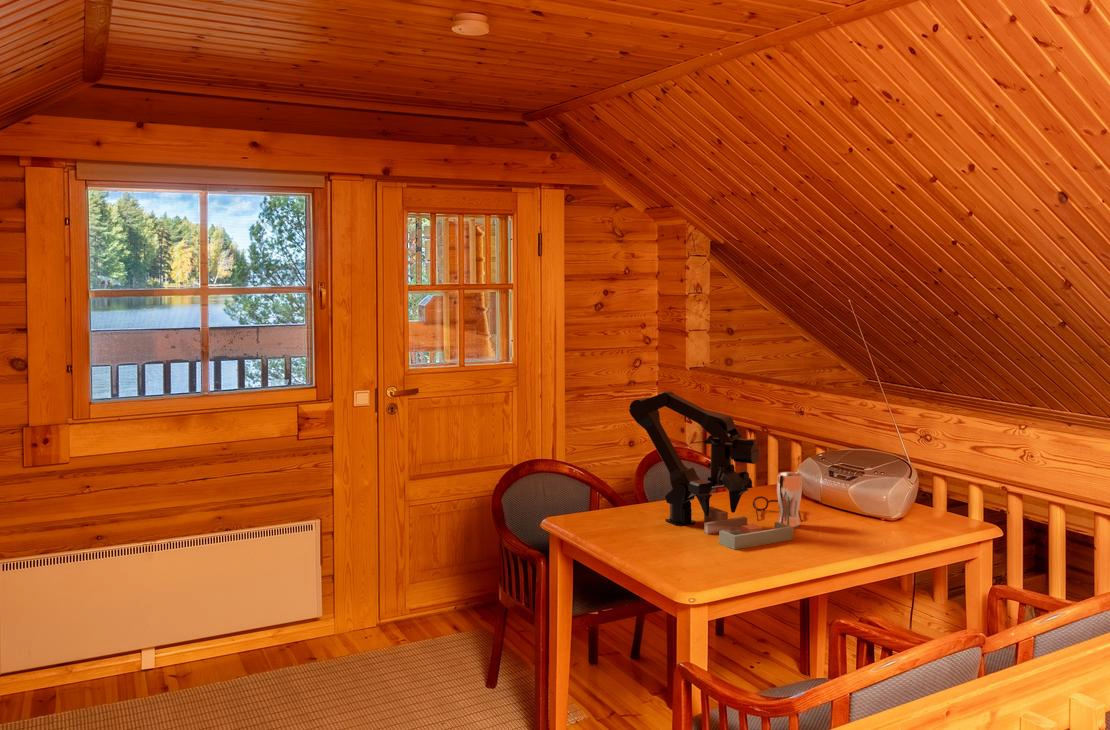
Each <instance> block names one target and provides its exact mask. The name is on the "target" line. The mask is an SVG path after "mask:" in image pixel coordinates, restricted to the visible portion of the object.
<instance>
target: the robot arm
mask: <svg viewBox="0 0 1110 730" xmlns="http://www.w3.org/2000/svg"><path fill="white" fill-rule="evenodd" d="M664 407H666V408H668V409H670V410H672V411H674V412H676V413H678V414H679V415H681V416H683V417H685V418H688V419H689V420H691V421H693V422H696V424H698V425H700V427H702V429H703V430H704V431H705V432H706V433H708V434H709V436H708V437H707V438H706V439H705V440H703V444H707V445H710V462H707V467H709V468H710V472H709V473H710V475H709V476H708V477H707V481H708V482H707V481H704V480H701V478H700V477H699V476H698V474H697V472H696V470H695V468H694V467H689V468H688V467H687V466H685V464H684V463H683V461H682V460H681V458H680V456H679V453H678V452H677V450H676V448H675V447H674V445H673V444H672V441H671V439H670V438H669V436H668V435H667V433H666V431H665V429H664V428H663V425H662V424H661V418H660V412H659V411H660V409H663V408H664ZM628 411H629V413H630V416H631V417H632V418H633V420H634V421H635V423H637V424H638V425H639V426H640V427H641V428H643V429H644V430H645V432H646V433H647V435H648V437H649V438H650V440H651V442H652V444H653V446H654V447H655V449H656V451H657V453H658V455H659V457H660V458H661V460H662V462H663V463H664V466H665V468H666V469H667V471H668V474H669V483H670V486H671V488H672V489H671V490H670V491H669V492H667V494H666V495H665V502H666V503H667V504H669V518H665V519H664V520H665V522H667V523H670V524H672V525H675V526H683V525H691V524H695V523H696V520H693V519H692V517H693V515H692V512H693V511H692V510H693V509H692V502H691V501H693V500H695V498H696V499H697V500H698V503H699V504H700V506H701V507H700V508H701V509H702V511H703V515H704V514H705V516H707V517H708V516H709V507H710V500H711V498H712V496H713V494H712V493H711V492H712V490H714V489H715V490H716V489H721V488H726V489H727V490H728V496H729V504H730V505H729V506H730V512H731V513H733V514H734V513H735V512H736V510H737V508H738V505H739V502H740V500H741V498H742V495H743V494H745V492H749V489H753V481H752V479H751V477H750V473H749V472H748V471H745V470H744V471H740V472H739V471H737V472H736V470H735V469H736V468H735V464H732V460H733V461H734V462H735V463H741V464H751V465H755V464H757V463H758V460H759V457H760V456H759V455H760V449H759V447H758V444H757V440H756V438H755V439H754V438H750V439H748V438H743V437H742V435H741V433H740V432H739V430H738V429H737V428H736V426H735V422H734V419H733V417H732V416H730V415H727V414H725V413H720V412H716V411H710V410H708V409H705V408H703V407H701V406H700V405H697V404H695V403H693V402H691V401H690V400H687V399H685V398H684V397H681V396H680V395H678V394H676V393H674V392H673V391H671V390H667V391H662V392H661V393H659V394H657V395H654V396H652V397H642V398H637V399H635V400H632V402H631V403H630V405H629V408H628Z"/></svg>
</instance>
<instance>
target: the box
mask: <svg viewBox="0 0 1110 730" xmlns="http://www.w3.org/2000/svg"><path fill="white" fill-rule="evenodd" d="M773 523H774V527H773V529H772V528H771V529H766V530H762V531H758V532H752V533H746V534H740V535H733V534H731V533H728V532H725V531H719V533H718V535H719V536H718V543H719V544H720V545H721V546H724V547H727V548H729V549H732V550H734V551H735V550H740V549H747V548H752V547H758V546H763V545H764V546H765V545H770V544H776V543H779V542H780V543H782V542H787V540H788V541H793V540H794V528H793V527H792V526H789V525H786V524H783V523H780V522H778V521H774V522H773Z"/></svg>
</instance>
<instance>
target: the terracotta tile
mask: <svg viewBox="0 0 1110 730" xmlns="http://www.w3.org/2000/svg"><path fill="white" fill-rule="evenodd" d="M740 530H741V531H742V534H746V533H752V532H758V531H763V527H761V526H759V525H758V524H757V525H756V524H754V523H752V524H747V525H744V526H741V529H740Z"/></svg>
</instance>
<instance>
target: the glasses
mask: <svg viewBox="0 0 1110 730" xmlns="http://www.w3.org/2000/svg"><path fill="white" fill-rule="evenodd" d="M759 499H763V500H765V502H766V504H765V507H763V508H759V507H757V504H756V501H757V500H759ZM769 503H778V499H768V498H767V497H765V496H761V495H759V496H756V497H754V498H753V500H752V507H753V509H754V510H755V512H756V520H757V522H759V521H760V520H759V513H758V512H759V511H761V510H763V511H766V510H767V508H768V507H769ZM798 518H799V522H800V523H801V522H803V520H802V515H801V512H800V510H799V511H798Z"/></svg>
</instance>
